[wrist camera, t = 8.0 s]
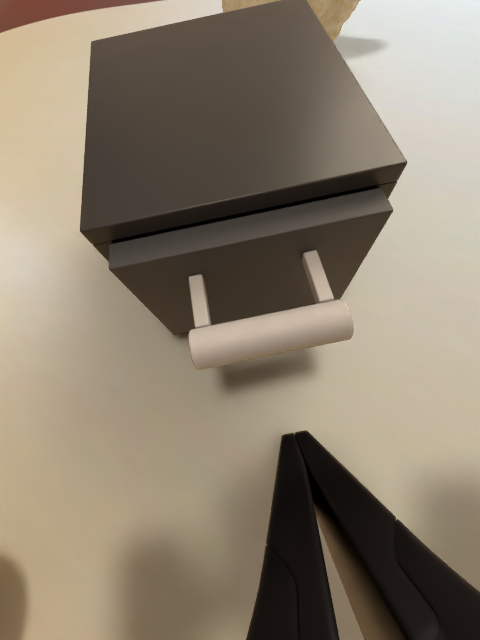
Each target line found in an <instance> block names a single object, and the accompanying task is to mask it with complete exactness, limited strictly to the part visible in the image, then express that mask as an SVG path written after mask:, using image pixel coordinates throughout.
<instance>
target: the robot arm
mask: <svg viewBox="0 0 480 640" xmlns="http://www.w3.org/2000/svg"><path fill="white" fill-rule="evenodd" d="M316 518H317V519H316ZM317 520H318V523H319V525H320V528H321V530H322V533H323V535H324V538H325V541H326V543H327V546H328V548H329V551H330V553H331V556H332V558H333V561H334V563H335V566H336V568H337V571H338V574H339V576H340V579H341V581H342V584H343V586H344V589H345V591H346V594H347V596H348V599H349V601H350V604H351V606H352V609H353V612H354V614H355V617H356V619H357V622H358V624H359V627H360V629H361V632H362V634H363V637H364V639H365V640H480V592H479V591H478V590H477V589H475V588H474V587H473V586H472V585H471V584H469V583H468V582H467V581H466V580H465V579H463V578H462V577H461V576H460V575H459V574H457V573H456V572H455V571H454V570H453V569H452V568H450V567H449V566H448V565H447V564H446V563H445V562H443V561H442V560H441V559H440V558H439V557H438V556H437V555H435V554H434V553H433V552H432V551H431V550H430V549H429V548H428V547H427V546H426V545H424V544H423V543H422V542H421V541H420V540H419V539H418V538H417V537H416V536H415V535H414V534H413V533H412V532H411V531H410V530H409V529H408V528H407V527H406V526H404V525H403V524H402V523H401V522H400V521H399V520H398V519H397V520H396V517H395V516H394V515H393V514H392V513H391V512H390V511H389V510H388V509H387V508H386V507H385V506H384V505H383V504H382V503H381V502H380V501H379V500H378V499H377V498H376V497H375V496H374V495H373V494H372V493H370V492H369V491H368V490H367V489H366V488H365V487H364V486H363V485H362V484H361V483H360V482H359V481H358V480H357V479H356V478H355V477H354V476H353V475H352V474H351V473H350V472H349V471H348V470H347V469H346V468H345V467H344V466H343V465H342V464H341V463H340V462H339V461H338V460H337V459H336V458H335V457H334V456H333V455H332V454H331V453H329V452H328V451H327V450H326V449H325V448H324V447H323V446H322V445H321V444H320V443H319V442H318V441H317V440H316V439H315V438H314V437H313V436H312V435H311V434H310V433H309V432H308V431H306V430H305V431H300V432H296V433H295V434H294V433H290V434H285V435H282V438H281V444H280V451H279V458H278V465H277V472H276V479H275V486H274V493H273V500H272V507H271V513H270V520H269V527H268V534H267V541H266V544H267V545H266V547H265V553H264V560H263V566H262V572H261V578H260V583H259V589H258V593H257V598H256V602H255V606H254V611H253V615H252V619H251V623H250V627H249V631H248V635H247V639H246V640H339V635H338V629H337V624H336V619H335V613H334V608H333V603H332V598H331V592H330V587H329V582H328V577H327V571H326V566H325V561H324V555H323V550H322V545H321V540H320V534H319V529H318V524H317Z"/></svg>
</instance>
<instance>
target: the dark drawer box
mask: <svg viewBox="0 0 480 640" xmlns="http://www.w3.org/2000/svg"><path fill="white" fill-rule="evenodd" d="M406 164H407V161H406V159H405V158H404V156H403V154H402V153H401V151H400V150H399V148H398V146H397V145H396V143H395V142H394V140H393V138H392V137H391V135H390V134H389V132H388V130H387V129H386V127H385V125H384V124H383V122H382V121H381V119H380V117H379V116H378V114H377V113H376V111H375V109H374V108H373V106H372V105H371V103H370V101H369V100H368V98H367V96H366V95H365V93H364V92H363V90H362V88H361V87H360V85H359V84H358V82H357V80H356V79H355V77H354V75H353V74H352V72H351V71H350V69H349V67H348V66H347V64H346V63H345V61H344V59H343V58H342V56H341V55H340V53H339V51H338V50H337V48H336V46H335V45H334V43H333V42H332V40H331V38H330V37H329V35H328V34H327V32H326V30H325V29H324V27H323V26H322V24H321V22H320V21H319V19H318V17H317V16H316V14H315V13H314V11H313V9H312V8H311V6H310V5H309V3H308V1H307V0H280V1H275V2H271V3H266V4H261V5H257V6H252V7H248V8H243V9H238V10H234V11H229V12H225V13H220V14H215V15H211V16H206V17H202V18H197V19H192V20H188V21H183V22H179V23H174V24H169V25H165V26H160V27H156V28H151V29H146V30H142V31H137V32H133V33H128V34H123V35H119V36H114V37H110V38H105V39H100V40H96V41H92V42H91V56H90V72H89V89H88V106H87V122H86V139H85V155H84V172H83V188H82V205H81V221H80V232H81V233H82V234H83V235H84V236H85V237H86V238H87V239H88V240H89V241H90V242H91V244H93V246H94V247H95V248H96V249H97V250H98V251H99V252H100V253H101V254H102V255H103V256H104V257H105V258H106V260H107V261H108V262H109V245H110V244H114V243H119V242H124V241H128V240H133V239H138V238H141V237H140V234H145V233H150V232H154V231H159V230H164V229H169V228H173V227H178V226H183V225H188V224H192V223H197V222H202V221H207V220H212V219H216V218H221V217H226V216H231V215H235V214H240V213H245V212H250V211H255V210H259V209H264V208H269V207H274V206H278V205H283V204H288V203H293V202H298V201H302V200H307V199H312V198H317V197H321V196H326V195H331V194H336V193H340V192H343V195H348V194H353V193H358V192H362V191H367V190H372V189H377V188H382V190H383V191H384V193H385V195H386V197H387V199H388V198H389V196H390V194H391V192H392V191H393V189H394V187H395V185H396V183H397V180H398V179H399V177H400V175H401V174H402V172H403V170H404V168H405V166H406ZM343 195H342V196H343Z"/></svg>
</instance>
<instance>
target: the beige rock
mask: <svg viewBox="0 0 480 640" xmlns="http://www.w3.org/2000/svg"><path fill="white" fill-rule="evenodd" d="M275 1H280V0H222V8H223V13H225V12H229V11H234V10H238V9H243V8H248V7H252V6H257V5H261V4H266V3H271V2H275ZM307 1H308V3H309V5H310V6H311V8H312V9H313V11H314V13H315V14H316V16H317V17H318V19H319V21H320V22H321V24H322V26H323V27H324V29H325V30H326V32H327V34H328V35H329V37H330V38H331V40H332V42H333V41H334V40H335V39H336V38H337V37H338V35H339V33H340V30H341V27H342V25H343V23H344V22H345V21H346V20H347V19H348V18H349V17H350V15H351V13H352V12H353V11H354V10H355V8H356V6H357V4H358V2H359V1H360V0H307Z"/></svg>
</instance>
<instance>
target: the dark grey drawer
mask: <svg viewBox="0 0 480 640" xmlns="http://www.w3.org/2000/svg"><path fill="white" fill-rule="evenodd" d="M342 195H343V192H340V193H336V194H331V195H326V196H321V197H317V198H312V199H307V200H302V201H298V202H293V203H288V204H283V205H278V206H274V207H269V208H264V209H259V210H255V211H250V212H245V213H240V214H235V215H231V216H226V217H221V218H216V219H212V220H207V221H202V222H197V223H192V224H188V225H183V226H178V227H173V228H169V229H164V230H159V231H154V232H150V233H145V234H140V237H141V238H138V239H133V240H128V241H124V242H119V243H114V244H110V245H109V270H110V271H111V272H112V273H113V274H114V275H115V276H116V277H117V278H118V279H119V280H120V281H121V282H122V283H123V284H124V285H125V286H126V287H127V288H128V289H129V290H130V291H131V292H132V293H133V294H134V295H135V296H136V297H137V298H138V299H139V300H140V301H141V302H142V303H143V304H144V305H145V306H146V307H147V308H148V309H149V310H150V311H151V312H152V313H153V314H154V315H155V316H156V317H157V318H158V319H159V320H160V321H161V322H162V323H163V324H164V325H165V326H166V327H167V328H168V329H169V330H170V331H171V332H172V333H173V334H174V335H176V334H181V333H185V332H189V338H188V339H189V349H190V354H191V358H192V361H193V364H194V366H195V368H196V369H197V370H202V369H207V368H212V367H216V366H221V365H226V364H231V363H236V362H241V361H246V360H251V359H256V358H261V357H265V356H270V355H275V354H280V353H285V352H290V351H295V350H300V349H305V348H310V347H315V346H319V345H324V344H329V343H334V342H339V341H344V340H349V339H350V338H351V337H352V335H353V320H352V316H351V313H350V310H349V308H348V306H347V304H346V303H345V302H344V301H343V300H340V298H341V297H342V295H343V293H344V292H345V290H346V288H347V287H348V285H349V283H350V282H351V280H352V278H353V277H354V275H355V273H356V272H357V270H358V268H359V267H360V265H361V263H362V262H363V260H364V258H365V257H366V255H367V253H368V252H369V250H370V248H371V247H372V245H373V243H374V242H375V240H376V238H377V237H378V235H379V233H380V232H381V230H382V228H383V227H384V225H385V223H386V222H387V220H388V218H389V217H390V215H391V213H392V212H393V208H392V206H391V204H390V203H389V201H388V199H387V197H386V195H385V193H384V191H383V190H382V188H377V189H372V190H367V191H362V192H358V193H353V194H348V195H343V196H342Z"/></svg>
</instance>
